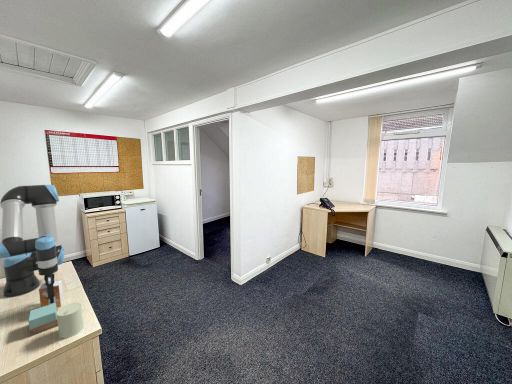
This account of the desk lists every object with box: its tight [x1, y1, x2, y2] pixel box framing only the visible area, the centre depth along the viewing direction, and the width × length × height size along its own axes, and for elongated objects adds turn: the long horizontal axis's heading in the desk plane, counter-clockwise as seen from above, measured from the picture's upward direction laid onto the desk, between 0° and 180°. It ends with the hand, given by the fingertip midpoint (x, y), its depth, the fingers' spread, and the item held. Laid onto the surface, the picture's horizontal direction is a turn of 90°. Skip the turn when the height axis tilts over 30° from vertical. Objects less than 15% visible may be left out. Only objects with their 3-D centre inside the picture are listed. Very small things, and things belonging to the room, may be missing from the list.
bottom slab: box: [28, 308, 59, 338], centre depth 103 cm, size 10×10×4 cm
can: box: [56, 302, 85, 339], centre depth 100 cm, size 9×9×12 cm
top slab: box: [28, 303, 58, 329], centre depth 103 cm, size 9×9×4 cm
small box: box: [38, 279, 64, 308], centre depth 116 cm, size 8×6×13 cm
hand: (52, 303), depth 117 cm, fingers open, 8 cm apart
